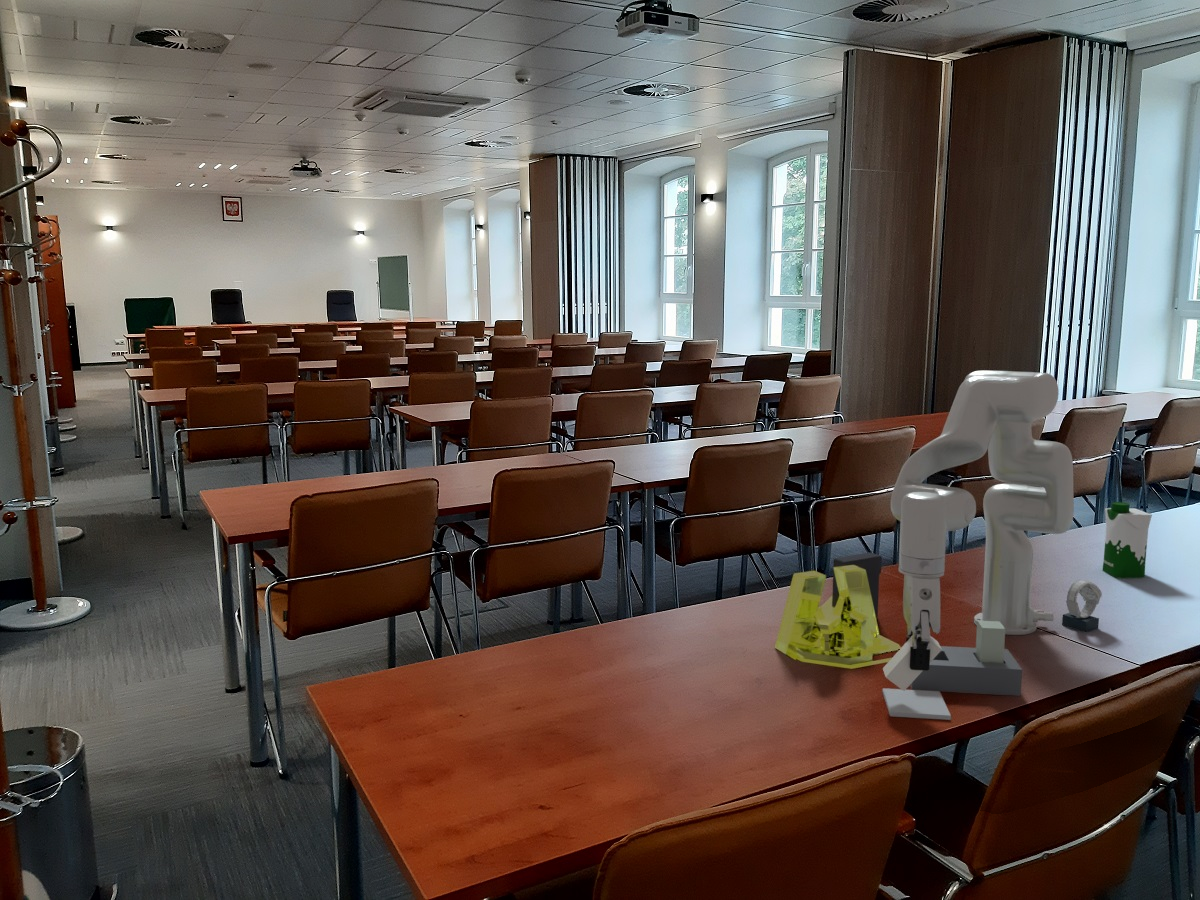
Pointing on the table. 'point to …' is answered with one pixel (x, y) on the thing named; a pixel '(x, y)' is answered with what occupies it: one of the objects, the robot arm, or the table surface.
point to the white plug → (906, 664)
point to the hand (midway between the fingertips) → (917, 663)
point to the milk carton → (1125, 541)
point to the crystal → (832, 621)
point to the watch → (1083, 618)
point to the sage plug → (990, 642)
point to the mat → (916, 704)
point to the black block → (873, 571)
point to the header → (970, 674)
